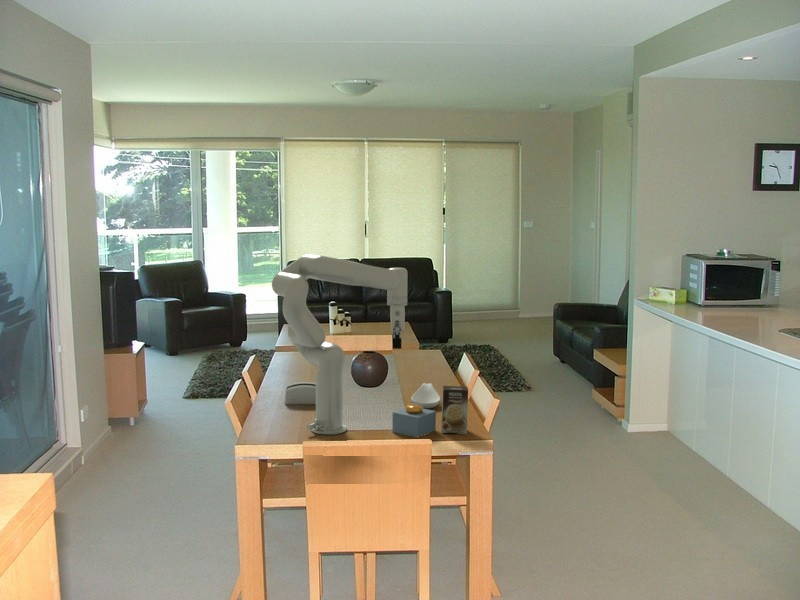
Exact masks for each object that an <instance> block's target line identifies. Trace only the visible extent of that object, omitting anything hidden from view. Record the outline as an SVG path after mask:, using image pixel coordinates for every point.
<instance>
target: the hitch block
mask: <svg viewBox="0 0 800 600" xmlns="http://www.w3.org/2000/svg"><path fill="white" fill-rule="evenodd" d="M436 411H437V410H432V409H424V408H423V412H422V413H420V414H409V413H407V412H406V407H404V408H401V409H399V410H396V411H393V412H392V429H391V430H392V433H394V434H395V433H396V434H399V435H403V436H407V435H410V436H409V437H411V436H415V437H414V438H416V437H418V436H421V435H424V434H426V435H428V434H427V433H429V434H431V433H433V432H432V431H434V432H436V427H437V426H436V423H437V421H436V418H437V414H436V413H437V412H436ZM430 432H431V433H430ZM424 436H425V435H424ZM421 437H422V436H421Z"/></svg>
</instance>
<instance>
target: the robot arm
mask: <svg viewBox="0 0 800 600" xmlns="http://www.w3.org/2000/svg"><path fill="white" fill-rule="evenodd" d="M408 277H409V275H408V270H407V269H406V268H405V267H390V268H385V267H380V266H375V265H369V264H364V263H360V262H357V261H353V260H348V259H343V258H341V259H340V258H337V257H333V256H332V257H331V256H326V255H319V254H313V253H312V254H310V253H307V254H304V255H302V256H300V257H298V258H297V259H295V261H293V262H291V263H290V264H289V265H287V266H285V267H284V268H283V269H281V270H280V271H279V272H277V273H276V274H275V275H274V277H273V278H272V281H271V288H272V290H273V292H274V293H275V295H277V296H279V297H283V300H282V309H281V310H282V315H283V317H284V319H285V321H286V323H287V324H288V328H287V335H288V338H289V341H291V343H292V345H293V346H294V347H295V348H296V349H297V351H298V352H299V353H300V355H301V356H302V357H303V358H304V360H306V362H307V363H309V364H311V365H313V366H315V367H318V370H317V373H316V376H315V383H316V404H315V418H314V419H313V422H312V423H309V424H307V425H306V429H307V430H308V431H310V430H311V431H312V433H315V434H318V435H325V436H327V435H329V436H330V435H331V436H332V435H339V434H342V433H345V432H346V431H347V430H348V426H347V425H346V424H344V423H343V377H344V375H343V373H344V369H345V362H346V355H345V352H344V350H343V348H342V347H341V346H340V345H338V344H336V343H334V342H331V341H326V331H325V329H324V327H323V326H322V324H320V322H319V321H318V320H317V318H316V317H315V315H314V314H312V312H311V310H310V309H309V307H308V306H307V296H308V293H309V282H308V281H307V280H308V279H313V280H317V281H323V282H329V283H336V284H341V285H348V286H356V287H357V286H358V287H366V288H373V289H380V290H385V291H386V292H387V293H386V296H387V297H386V306H389V307H390V309H389V310H390V311H389V313H390V315H389V316H390V328H391V332H392V349H393V350H394V349H395V350H399V349H400V350H401V349H402V333H404V332H405V331H406V330H405V329H406V328H405V327H406V325H405V323H406V322H405V321H406V320H405V319H406V318H405V317H406V313H405V306H408Z"/></svg>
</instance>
